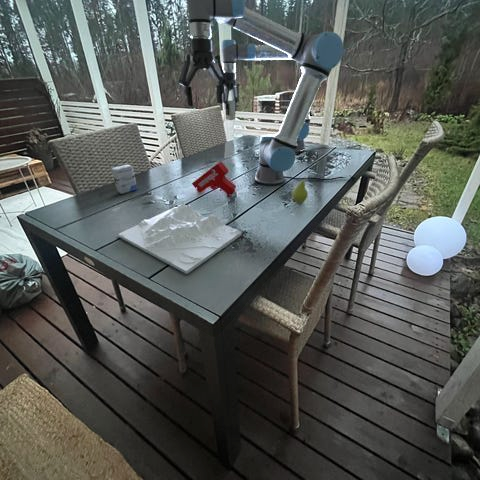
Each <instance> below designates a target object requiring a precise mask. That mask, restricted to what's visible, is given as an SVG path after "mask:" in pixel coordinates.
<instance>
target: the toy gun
mask: <svg viewBox="0 0 480 480" xmlns="http://www.w3.org/2000/svg"><path fill="white" fill-rule="evenodd" d="M228 173H229V169H228V168H227V166H226V165H225V164H224V163H223V162H222V161H219V162H217V163H216V164H214V166H212V167H211V168H210V169H209V170H207V171H206V172H204V173H203V174H202V175H201V176H199V177H198V178H197V179H196V180H194V181H193V182H192V183H191V184H192V186H193V187H194V189H195V190H196V191H197V193H199V194H201V193H203V192H204V191H205V190H207V189H208V188H210V189H211V190H213V191H215V190H216V189H218V188H219V189H220V190H222V191H223V192H224V193H225V194H226V196H227V197H229V196H230V195H233V194H235V192H236V188H237V186H236V184H235V183H233V182H232V181H230V180H229V179H228V178H227V177H226V175H227V174H228Z"/></svg>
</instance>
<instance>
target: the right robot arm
mask: <svg viewBox="0 0 480 480" xmlns="http://www.w3.org/2000/svg"><path fill="white" fill-rule="evenodd" d="M221 54H222V55H221V56H222V68H223V70H224V73H225V76H226V78H227V83H225V85H223V94H222V103H221V104H223V105H224V106H223V107H224V110H225V116H226V115H229V104H227V103H228V100H229V97H230V94H231V100H233V101H235V109H237V103H238V102H239V101H240V91H239V90H240V85H241V84H240V83H237V81H236V78H237V73H236V72H237V71H236V70H237V68H236V61H238V60H239V61H240V60H241V61H262V60H263V61H268V60H270V61H273V60H277V61H279V60H292V59H291V58H289V56H288V54H287V53H285V52H283V51H281V50H279V49H277V48H275V47H273V46H271V45H268V44H256V43H236V40H235V39H223V40H222V42H221ZM310 112H311V109H310V110H309V112H308V115H307V117H306V119H305V121H304V124H303V126H302V128H301V130H300V133H299V135H298V137H297V140H296V142H297V145H298V146H297V148H296V150H295V152H294V153H303V152H305V151H306V148H305V147H308V145H307V146H306V145H305V141H304V140H305V139H307V137H308V136H309V133H310V124H311V120H312V119H311V116H310ZM346 147H347V148H346V149H353V148H357V147H359V148H362V146H361V145H360V144H357V145H353V146H352V145H351V146H346ZM303 149H305V150H303ZM300 150H303V151H300Z"/></svg>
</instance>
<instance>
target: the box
mask: <svg viewBox="0 0 480 480" xmlns="http://www.w3.org/2000/svg"><path fill="white" fill-rule="evenodd" d="M227 104H229V115H226V114H225V120H227V121H235V120H236V108H235V101H233V100H232V99H228V103H227Z"/></svg>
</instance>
